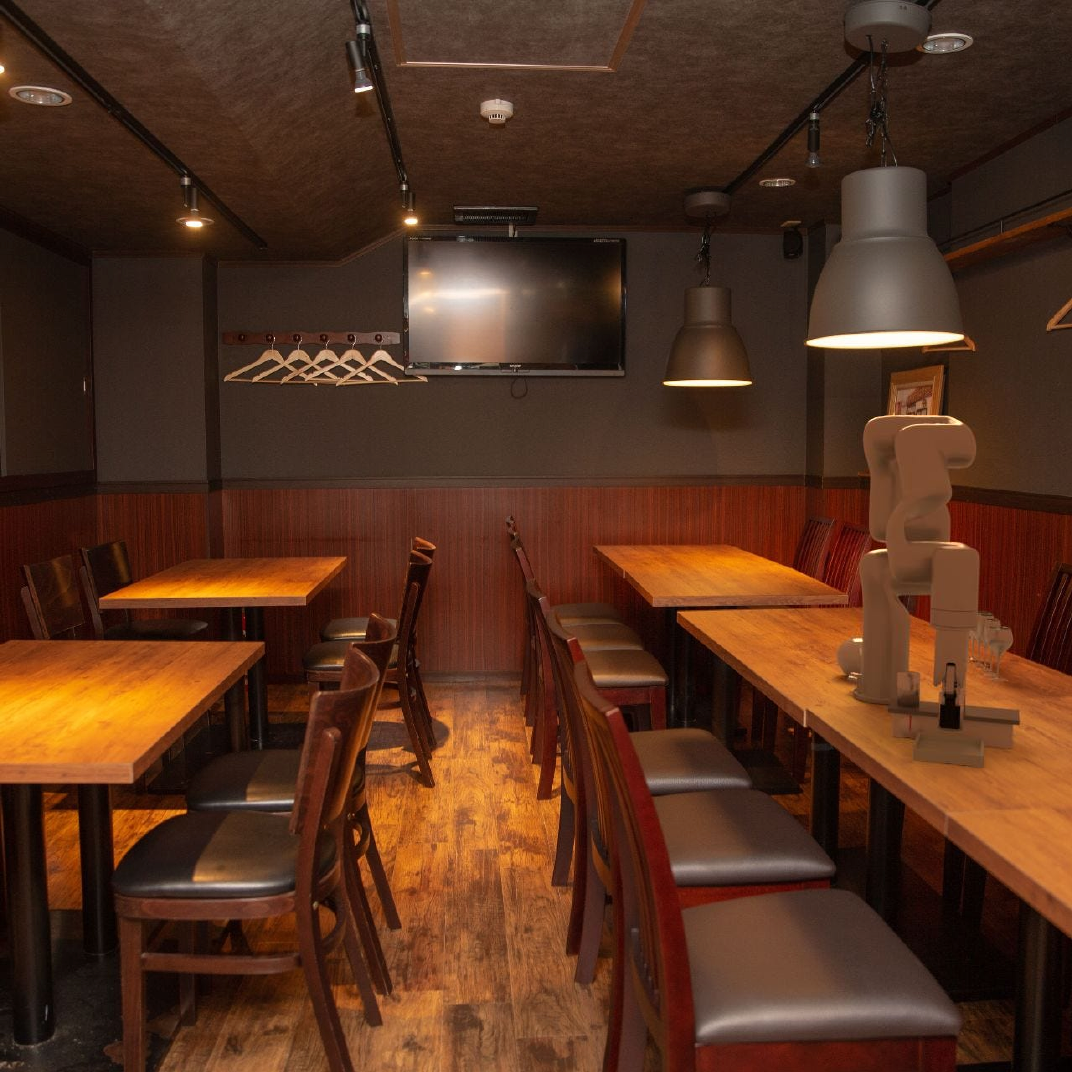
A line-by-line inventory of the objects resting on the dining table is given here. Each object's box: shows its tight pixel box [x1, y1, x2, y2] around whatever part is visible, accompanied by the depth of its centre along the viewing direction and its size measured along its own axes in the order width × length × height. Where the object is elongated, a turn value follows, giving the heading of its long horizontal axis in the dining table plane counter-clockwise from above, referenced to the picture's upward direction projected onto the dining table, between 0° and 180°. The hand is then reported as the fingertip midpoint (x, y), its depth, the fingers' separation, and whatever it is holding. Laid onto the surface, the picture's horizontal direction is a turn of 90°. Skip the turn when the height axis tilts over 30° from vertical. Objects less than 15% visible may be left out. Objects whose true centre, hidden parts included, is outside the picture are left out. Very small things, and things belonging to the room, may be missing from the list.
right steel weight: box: [938, 691, 964, 732], centre depth 181 cm, size 4×4×6 cm
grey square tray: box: [912, 733, 985, 769], centre depth 181 cm, size 11×11×2 cm
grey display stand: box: [886, 698, 1021, 750], centre depth 192 cm, size 22×8×5 cm, turn 66°
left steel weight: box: [897, 670, 921, 707], centre depth 195 cm, size 4×4×6 cm
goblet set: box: [968, 610, 1014, 682], centre depth 252 cm, size 28×6×13 cm, turn 171°
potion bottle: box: [835, 636, 862, 676], centre depth 243 cm, size 9×10×15 cm
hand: (950, 723), depth 181 cm, fingers closed on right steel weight, 4 cm apart
